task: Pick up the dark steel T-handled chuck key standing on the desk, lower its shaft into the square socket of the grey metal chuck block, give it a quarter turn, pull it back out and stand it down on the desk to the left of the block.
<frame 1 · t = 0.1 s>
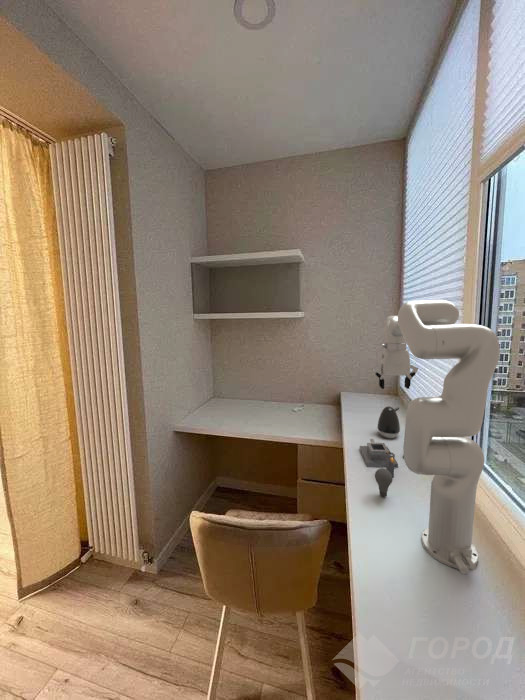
hand: (394, 388, 114), 31 cm above the table, fingers open, 9 cm apart
pump dispenser: (388, 436, 139), on the table
light bulb: (383, 496, 96), on the table
digital multimeter: (415, 455, 121), on the table
chuck block: (377, 457, 120), on the table
chuck key: (389, 476, 107), on the table
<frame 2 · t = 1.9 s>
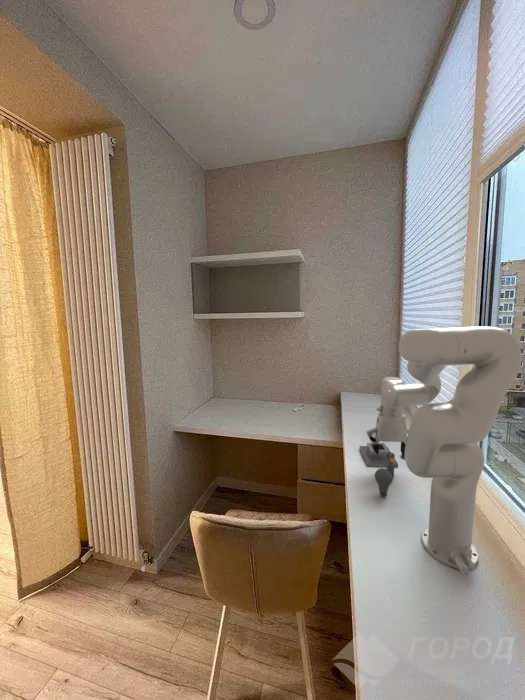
hand: (389, 452, 106), 9 cm above the table, fingers open, 9 cm apart
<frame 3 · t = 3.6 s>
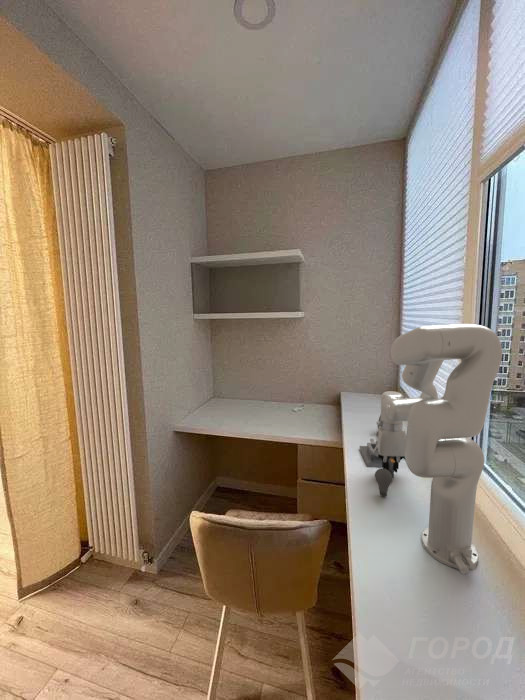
hand: (390, 469, 106), 3 cm above the table, fingers closed on chuck key, 2 cm apart
chuck key: (389, 476, 107), on the table, touching gripper
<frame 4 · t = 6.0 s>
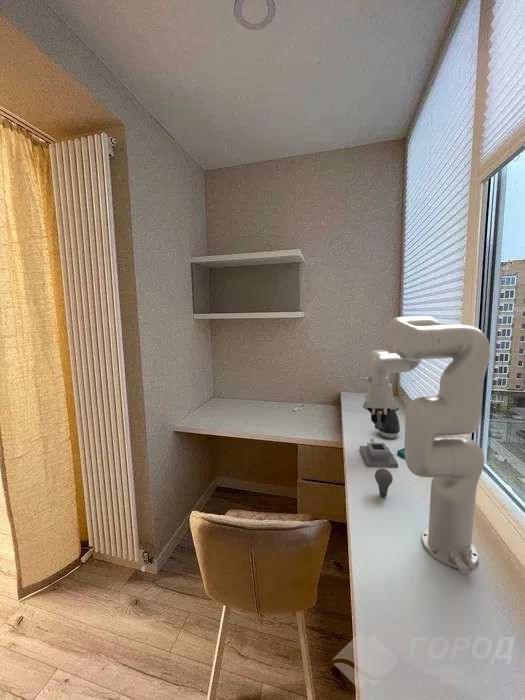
hand: (378, 422, 117), 16 cm above the table, fingers closed on chuck key, 2 cm apart
chuck key: (378, 427, 118), point 14 cm above the table, touching gripper
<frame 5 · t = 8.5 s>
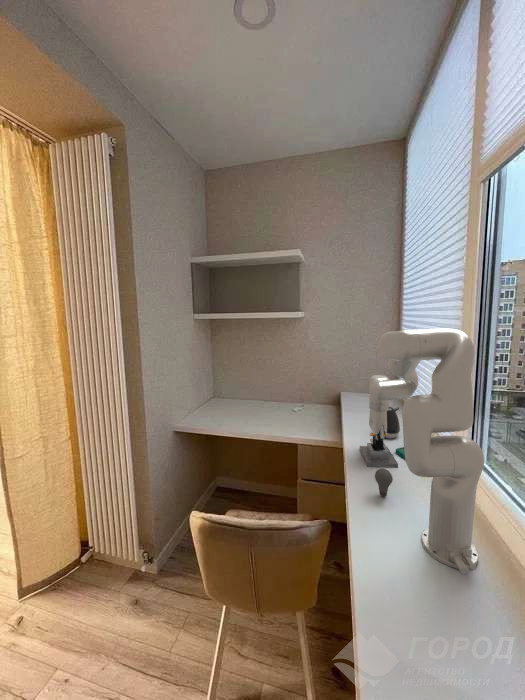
hand: (377, 445, 119), 5 cm above the table, fingers closed on chuck key, 2 cm apart
chuck key: (377, 451, 119), point 3 cm above the table, touching gripper
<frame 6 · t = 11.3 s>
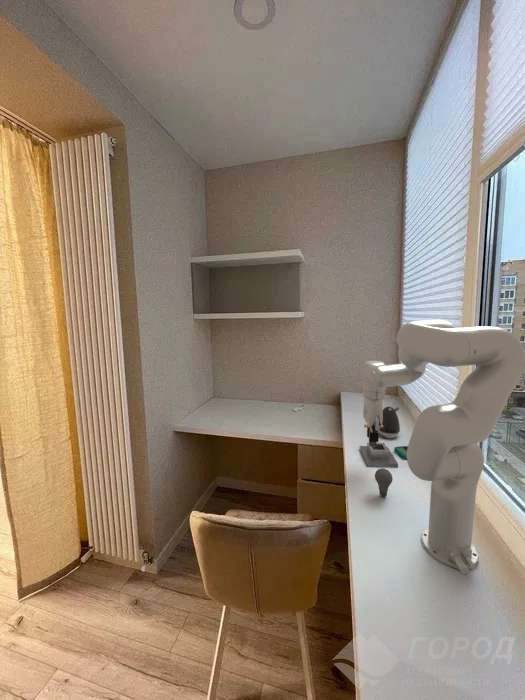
hand: (372, 439, 108), 14 cm above the table, fingers closed on chuck key, 2 cm apart
chuck key: (372, 445, 108), point 11 cm above the table, touching gripper
when the fingers open (4 cm above the table, at t = 13.6 s): chuck key drops 1 cm, on the table.
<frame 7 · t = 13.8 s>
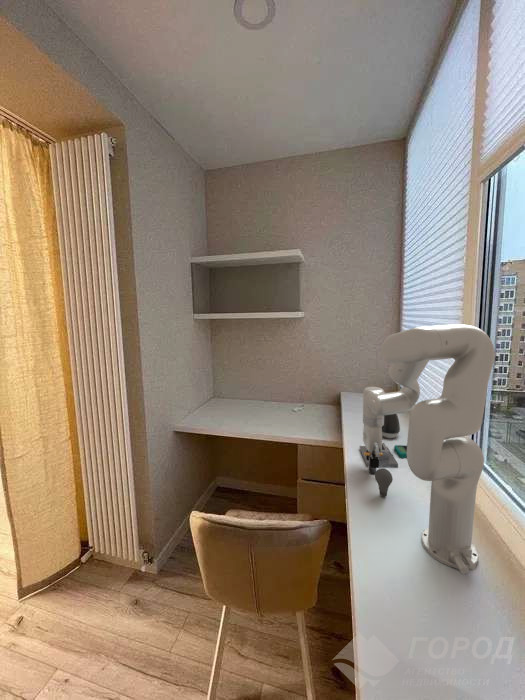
hand: (372, 463, 109), 4 cm above the table, fingers open, 4 cm apart
chuck key: (372, 472, 109), on the table
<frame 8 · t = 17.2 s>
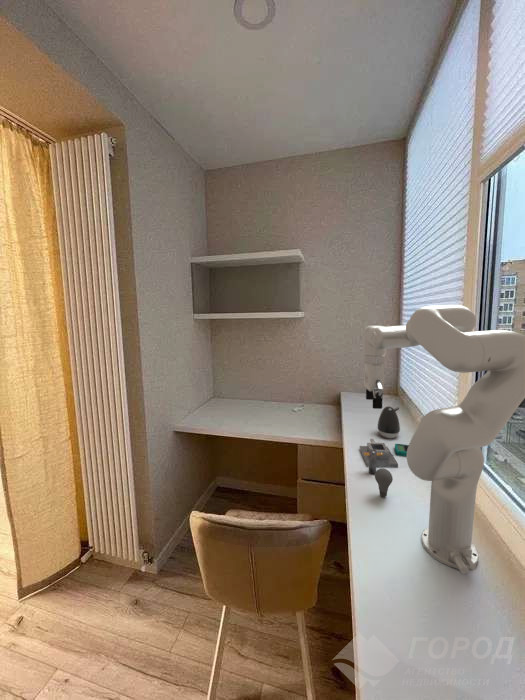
hand: (373, 403, 105), 28 cm above the table, fingers open, 9 cm apart
at the end: chuck key inside the target area (0.1 cm from its centre), on the table; chuck key tilted 0°; the gripper is holding nothing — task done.
